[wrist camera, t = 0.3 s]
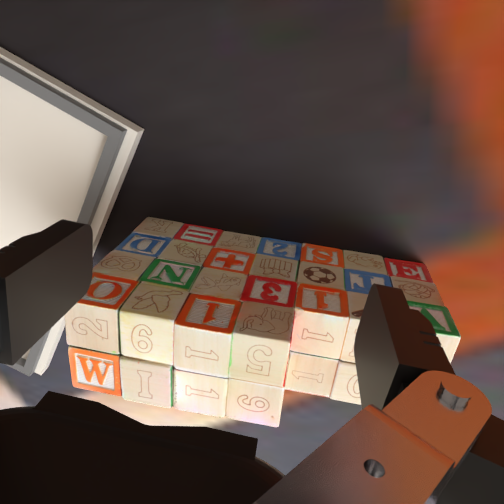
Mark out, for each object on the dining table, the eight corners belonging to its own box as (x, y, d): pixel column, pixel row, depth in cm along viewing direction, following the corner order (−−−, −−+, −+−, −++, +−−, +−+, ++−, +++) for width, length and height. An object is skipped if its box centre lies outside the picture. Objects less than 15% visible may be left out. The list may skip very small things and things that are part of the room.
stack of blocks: (427, 260, 31) (484, 376, 20) (404, 329, 34) (443, 464, 23) (145, 215, 33) (57, 300, 22) (146, 284, 36) (68, 390, 25)
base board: (-15, 38, 29) (-38, 37, 27) (144, 129, 30) (133, 134, 28) (-68, 308, 40) (-86, 320, 39) (48, 366, 41) (36, 381, 40)
